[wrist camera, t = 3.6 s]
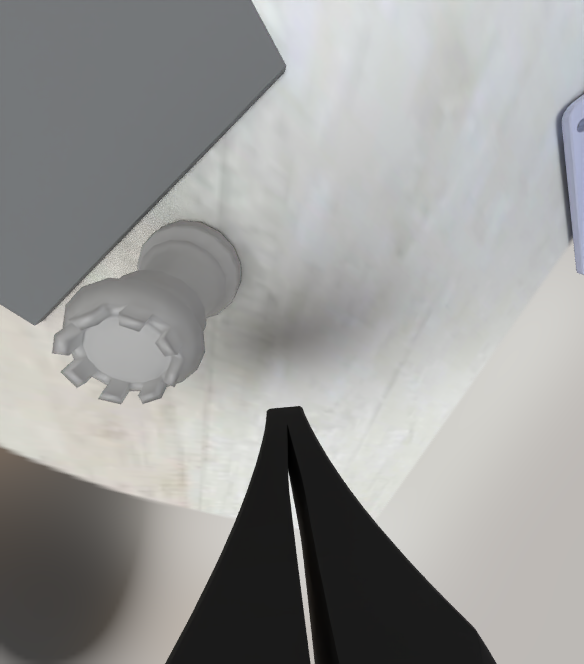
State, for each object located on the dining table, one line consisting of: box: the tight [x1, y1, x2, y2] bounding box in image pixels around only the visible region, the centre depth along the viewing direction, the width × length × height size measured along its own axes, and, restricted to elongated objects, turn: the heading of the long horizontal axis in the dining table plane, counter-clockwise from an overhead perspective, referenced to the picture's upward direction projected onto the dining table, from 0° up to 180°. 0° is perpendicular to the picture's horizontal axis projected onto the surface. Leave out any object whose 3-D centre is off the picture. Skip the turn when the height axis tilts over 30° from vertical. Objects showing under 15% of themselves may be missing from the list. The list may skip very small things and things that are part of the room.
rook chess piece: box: [52, 221, 241, 404], centre depth 9 cm, size 4×4×8 cm
